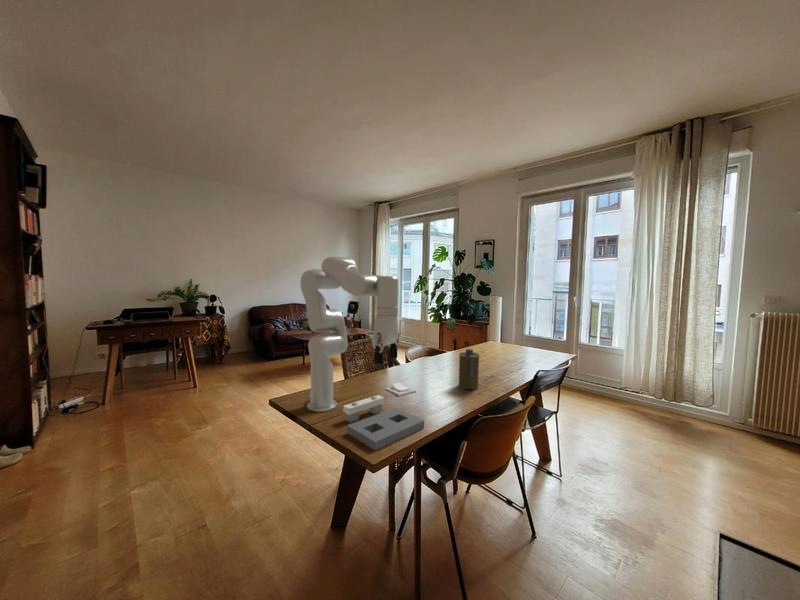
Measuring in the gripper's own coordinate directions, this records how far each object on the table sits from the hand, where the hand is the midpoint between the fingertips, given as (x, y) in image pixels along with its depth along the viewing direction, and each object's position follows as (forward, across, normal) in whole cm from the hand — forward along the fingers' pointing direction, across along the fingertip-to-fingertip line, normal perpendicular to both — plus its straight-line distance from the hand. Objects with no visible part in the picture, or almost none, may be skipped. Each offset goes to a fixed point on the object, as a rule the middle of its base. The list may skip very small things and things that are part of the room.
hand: (386, 360), depth 113 cm
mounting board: (+28, -5, -2) cm, 29 cm away
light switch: (+29, -46, -19) cm, 58 cm away
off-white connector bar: (+28, -12, -17) cm, 35 cm away
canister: (+28, -70, +10) cm, 76 cm away
